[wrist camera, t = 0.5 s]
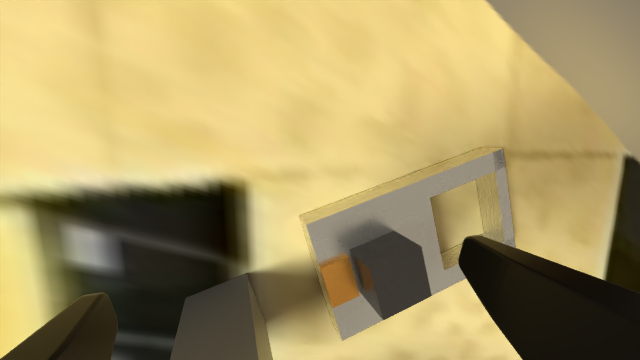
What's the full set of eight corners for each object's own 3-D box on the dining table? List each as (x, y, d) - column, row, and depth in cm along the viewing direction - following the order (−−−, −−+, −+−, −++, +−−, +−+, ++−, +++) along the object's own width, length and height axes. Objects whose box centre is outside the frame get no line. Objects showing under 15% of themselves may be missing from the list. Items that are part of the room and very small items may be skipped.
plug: (265, 321, 21) (291, 454, 12) (208, 347, 20) (193, 511, 11) (246, 273, 20) (261, 379, 11) (185, 297, 19) (150, 435, 10)
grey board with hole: (495, 244, 26) (554, 268, 21) (332, 323, 22) (360, 374, 17) (481, 146, 24) (543, 150, 19) (298, 216, 20) (320, 241, 15)
